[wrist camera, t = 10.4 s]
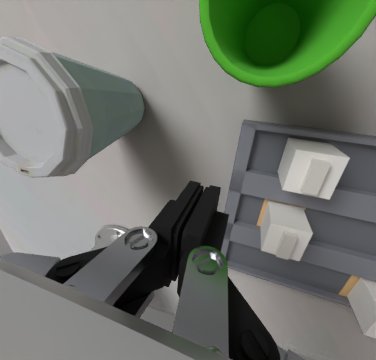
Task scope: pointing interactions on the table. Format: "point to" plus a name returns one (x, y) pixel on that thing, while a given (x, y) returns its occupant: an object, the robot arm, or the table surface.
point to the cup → (281, 36)
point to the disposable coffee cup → (59, 110)
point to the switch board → (314, 210)
